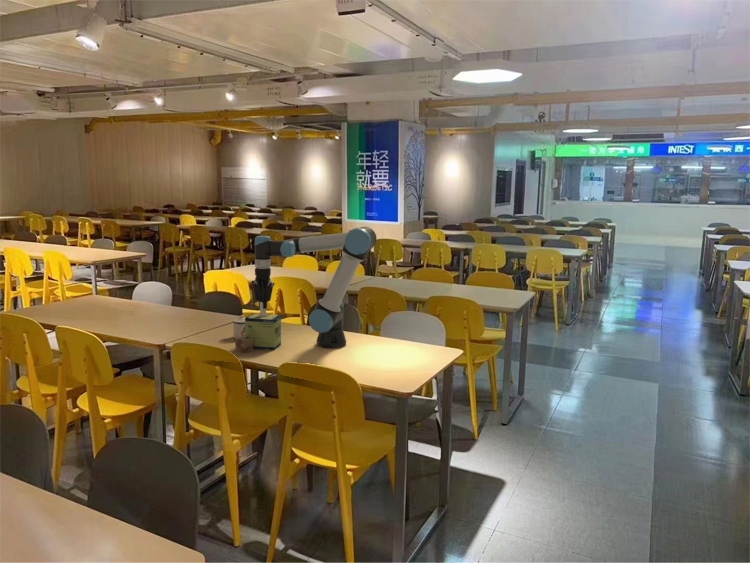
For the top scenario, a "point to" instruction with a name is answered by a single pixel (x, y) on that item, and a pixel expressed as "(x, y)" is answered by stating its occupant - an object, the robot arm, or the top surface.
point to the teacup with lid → (239, 327)
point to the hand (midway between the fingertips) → (263, 314)
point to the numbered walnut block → (244, 344)
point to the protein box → (264, 330)
